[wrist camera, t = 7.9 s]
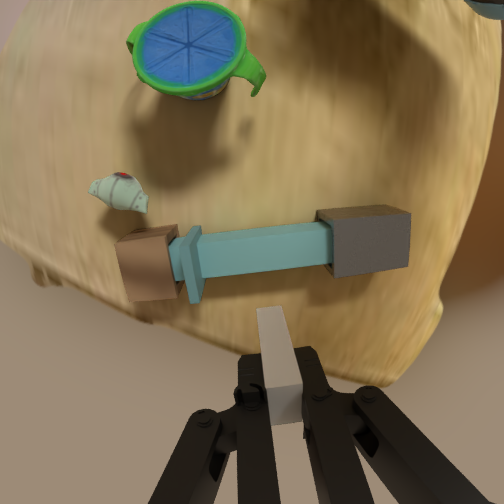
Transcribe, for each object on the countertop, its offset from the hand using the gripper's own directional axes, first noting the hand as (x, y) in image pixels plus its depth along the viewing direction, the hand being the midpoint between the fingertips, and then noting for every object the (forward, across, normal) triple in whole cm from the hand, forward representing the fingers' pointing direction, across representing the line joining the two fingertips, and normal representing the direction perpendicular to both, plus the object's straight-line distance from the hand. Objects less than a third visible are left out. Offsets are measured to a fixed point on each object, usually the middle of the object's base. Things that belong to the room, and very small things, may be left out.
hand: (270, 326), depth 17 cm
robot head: (+20, -14, +9) cm, 26 cm away
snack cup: (+20, -4, +22) cm, 30 cm away
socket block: (+19, -12, 0) cm, 23 cm away
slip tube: (+19, -1, 0) cm, 19 cm away
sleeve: (+20, +13, 0) cm, 24 cm away
